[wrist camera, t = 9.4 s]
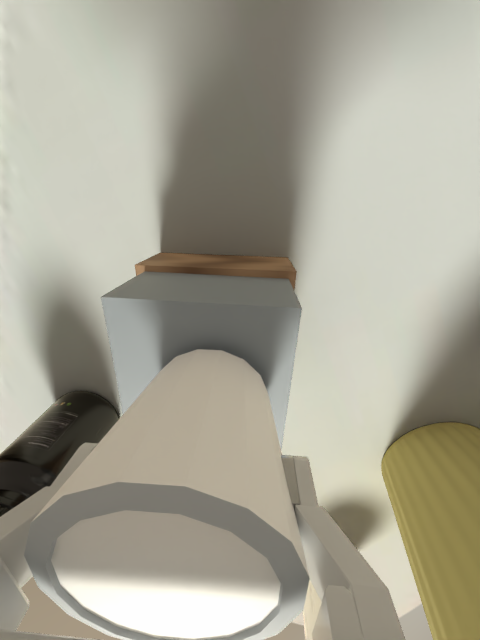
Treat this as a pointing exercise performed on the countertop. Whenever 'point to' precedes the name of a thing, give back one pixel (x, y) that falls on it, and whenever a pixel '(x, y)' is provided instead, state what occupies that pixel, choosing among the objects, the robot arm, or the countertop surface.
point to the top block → (203, 328)
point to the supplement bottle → (51, 445)
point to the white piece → (179, 515)
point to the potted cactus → (440, 521)
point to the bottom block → (220, 265)
